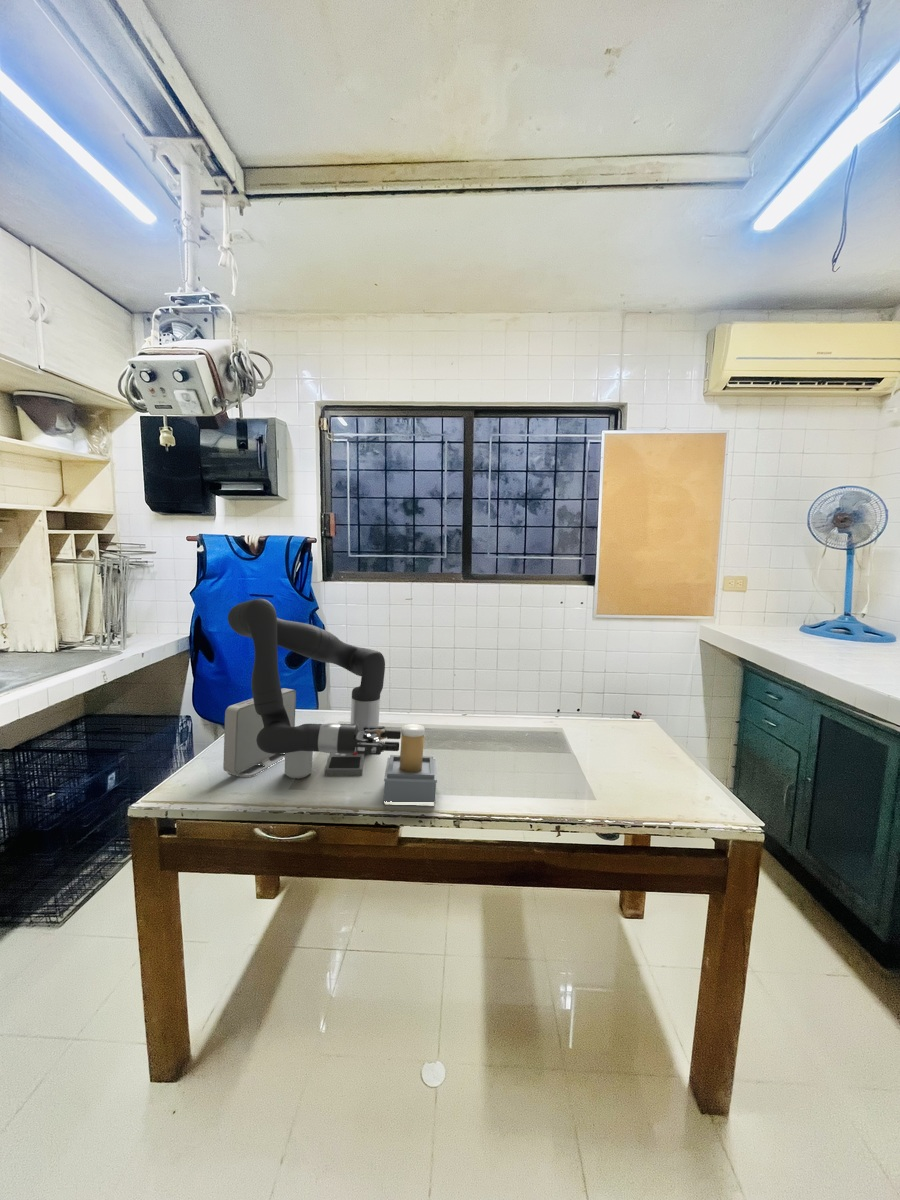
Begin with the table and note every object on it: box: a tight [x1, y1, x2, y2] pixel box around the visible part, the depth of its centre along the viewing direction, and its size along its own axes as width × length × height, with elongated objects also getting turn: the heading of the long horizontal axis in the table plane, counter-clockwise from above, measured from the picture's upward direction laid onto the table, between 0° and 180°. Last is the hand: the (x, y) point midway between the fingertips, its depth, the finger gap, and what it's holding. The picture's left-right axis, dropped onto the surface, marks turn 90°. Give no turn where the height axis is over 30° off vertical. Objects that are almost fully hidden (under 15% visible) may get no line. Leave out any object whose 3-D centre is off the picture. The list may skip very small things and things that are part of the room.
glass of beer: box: [399, 723, 426, 773], centre depth 124 cm, size 6×6×11 cm
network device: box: [223, 687, 297, 778], centre depth 137 cm, size 26×9×20 cm, turn 162°
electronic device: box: [324, 750, 365, 776], centre depth 141 cm, size 10×2×15 cm
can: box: [283, 751, 314, 779], centre depth 132 cm, size 8×8×12 cm
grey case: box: [383, 754, 438, 802], centre depth 124 cm, size 13×13×8 cm
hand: (399, 740), depth 124 cm, fingers open, 8 cm apart
